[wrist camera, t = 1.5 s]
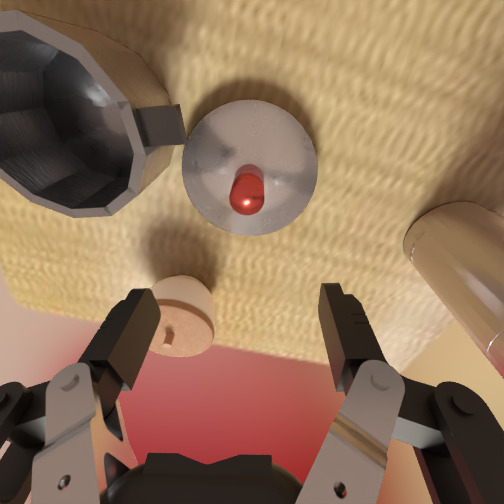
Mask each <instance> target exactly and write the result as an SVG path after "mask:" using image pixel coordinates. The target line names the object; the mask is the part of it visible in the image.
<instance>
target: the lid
mask: <svg viewBox="0 0 504 504" xmlns="http://www.w3.org/2000/svg"><path fill="white" fill-rule="evenodd" d="M317 169H318V165H317V157H316V153H315V149H314V146H313V144H312V141H311V139H310V137H309V135H308V134H307V132H306V130H305V129H304V128H303V126H302V125H301V124H300V123H299V121H298V120H297V119H295V118H294V117H293V116H292V115H291V114H290V113H288V112H287V111H285V110H284V109H283V108H281V107H278V106H276V105H274V104H272V103H268V102H265V101H260V100H238V101H233V102H230V103H227V104H224V105H222V106H220V107H218V108H216V109H214V110H213V111H211V112H210V113H209V114H207V115H206V116H205V117H204V118H203V119H202V120H201V121H200V122H199V123H198V124H197V125H196V126H195V128H194V129H193V130H192V132H191V134H190V136H189V138H188V140H187V143H186V145H185V148H184V152H183V157H182V176H183V182H184V186H185V189H186V192H187V194H188V196H189V198H190V200H191V202H192V203H193V205H194V207H195V208H196V209H197V210H198V212H199V213H200V214H201V215H202V216H203V217H204V218H205V219H206V220H208V221H209V222H210V223H212V224H213V225H215V226H216V227H218V228H220V229H222V230H224V231H227V232H230V233H233V234H237V235H244V236H258V235H264V234H269V233H272V232H275V231H277V230H279V229H282V228H283V227H285V226H287V225H288V224H290V223H291V222H292V221H294V220H295V219H296V218H297V217H298V216H299V215H300V214H301V213H302V212H303V210H304V209H305V208H306V206H307V204H308V203H309V201H310V199H311V197H312V195H313V192H314V189H315V186H316V181H317Z"/></svg>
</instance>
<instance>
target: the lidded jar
mask: <svg viewBox="0 0 504 504" xmlns="http://www.w3.org/2000/svg"><path fill="white" fill-rule="evenodd" d="M149 289H151V290H152V292H153V295H154V297H155V299H156V301H157V303H158V306H159V308H160V311H161V318H160V322H159V325H158V327H157V330H156V332H155V334H154V337H153V339H152V342H151V344H150V347H149V350H151V351H153V352H156V353H159V354H162V355H167V356H173V357H187V356H193V355H197V354H200V353H202V352H204V351H205V350H206V349H208V348H209V347H210V345H211V344H212V342H213V338H214V328H215V321H216V308H215V303H214V299H213V297H212V295H211V293H210V292H209V290H208V289H207V288H206V287H205V286H204V285H203V283H202V282H201V281H199V280H198V279H196V278H194V277H191V276H187V275H178V276H173V277H168V278H165V279H163V280H160V281H159V282H157V283H155V284H154V285H153V286H152V287H150V288H149Z"/></svg>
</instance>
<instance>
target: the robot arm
mask: <svg viewBox="0 0 504 504" xmlns="http://www.w3.org/2000/svg"><path fill="white" fill-rule="evenodd" d="M403 248H404V253H405V255H406V257H407V258H408V259H409V260H410V262H411V263H412V264H413V266H414V267H415V268H416V269H417V271H418V272H419V273H420V274H421V276H422V277H423V278H424V280H425V281H426V282H427V283H428V285H429V286H430V287H431V288H432V290H433V291H434V292H435V294H436V295H437V296H438V297H439V299H440V300H441V301H442V302H443V304H444V305H445V306H446V307H447V309H448V310H449V311H450V312H451V314H452V315H453V316H454V317H455V319H456V320H457V321H458V322H459V324H460V325H461V326H462V327H463V329H464V330H465V331H466V332H467V334H468V335H469V336H470V337H471V339H472V340H473V341H474V342H475V344H476V345H477V346H478V348H479V349H480V350H481V351H482V352H483V354H484V355H485V356H486V357H487V359H488V360H489V361H490V362H491V364H492V365H493V366H494V367H495V369H496V370H497V371H498V372H499V374H500V375H501V376H502V377H503V379H504V216H502V215H501V214H499V213H497V212H490V211H489V210H487V209H485V208H484V207H482V206H480V205H478V204H476V203H473V202H466V201H462V202H453V203H448V204H445V205H442V206H439V207H437V208H435V209H433V210H431V211H429V212H428V213H426V214H425V215H423V216H422V217H421V218H419V219H418V220H417V221H416V222H415V223H414V224H413V225H412V227H411V228H410V229H409V231H408V233H407V235H406V237H405V239H404V244H403ZM318 313H319V320H320V324H321V328H322V333H323V337H324V341H325V345H326V350H327V354H328V358H329V362H330V367H331V371H332V375H333V379H334V384H335V388H336V391H338V392H339V391H340V392H341V391H344V392H345V395H346V398H345V400H344V402H343V405H342V406H341V409H340V411H339V413H338V415H337V417H336V419H335V420H334V422H333V424H332V426H331V428H330V430H329V432H328V434H327V436H326V439H325V440H324V443H323V445H322V447H321V449H320V451H319V454H318V455H317V458H316V460H315V462H314V464H313V466H312V468H311V470H310V473H309V475H308V477H307V479H306V481H305V483H304V485H303V484H302V483H301V482H300V481H299V480H298V479H297V478H296V477H295V476H294V475H293V474H292V473H290V472H289V471H288V470H286V469H284V468H283V467H281V466H279V465H277V464H274V463H272V457H271V455H237V456H234V457H231V458H228V459H225V460H222V461H219V462H216V463H212V464H207V465H206V464H203V463H200V462H198V461H195V460H193V459H190V458H188V457H185V456H183V455H180V454H177V453H148V455H147V458H146V462H145V463H143V464H141V465H138V463H137V460H136V458H135V455H134V453H133V451H132V450H131V448H130V445H129V442H128V438H127V434H126V430H125V425H124V421H123V417H122V413H121V408H120V404H119V400H118V399H117V398H118V395H119V393H120V391H127V390H128V391H131V390H132V387H133V385H134V383H135V380H136V378H137V375H138V373H139V371H140V368H141V366H142V363H143V361H144V359H145V356H146V354H147V351H148V349H149V347H150V344H151V342H152V339H153V337H154V334H155V332H156V330H157V327H158V325H159V322H160V318H161V311H160V308H159V306H158V303H157V301H156V299H155V297H154V295H153V292H152V290H151V289H149V288H143V289H132V290H131V291H130V292H129V294H128V296H127V297H126V299H125V300H121V301H120V302H119V303H118V304H117V305H116V306H114V307H113V308H112V309H111V311H110V312H109V314H108V316H107V317H106V320H105V321H104V322H103V323H102V325H101V326H100V329H99V330H98V331H97V333H96V334H95V336H94V337H93V339H92V340H91V342H90V344H89V345H88V347H87V348H86V350H85V351H84V353H83V354H82V356H81V358H80V359H79V361H78V362H77V363H74V364H71V365H69V366H67V367H65V368H64V369H62V370H61V371H60V372H58V373H57V374H56V375H55V376H54V377H53V379H52V380H51V381H48V382H44V383H41V384H38V385H35V386H32V387H28V388H26V387H25V386H23V385H22V384H21V383H19V382H10V383H6V384H4V385H2V386H0V449H1V447H2V445H3V444H4V443H5V441H6V440H7V441H9V442H11V444H10V446H9V447H8V449H7V450H6V452H5V453H4V455H3V457H2V458H1V460H0V504H24V503H25V501H26V499H27V497H28V495H29V493H30V491H31V504H376V501H377V498H378V494H379V491H380V487H381V484H382V480H383V477H384V473H385V470H386V465H387V451H388V447H389V443H390V440H391V438H394V439H397V440H400V441H402V442H405V443H407V444H410V445H412V446H413V448H414V451H415V454H416V457H417V460H418V463H419V465H420V468H421V471H422V474H423V477H424V480H425V482H426V485H427V488H428V490H429V494H430V496H431V499H432V502H433V504H504V431H503V430H502V428H501V426H500V425H499V423H498V422H497V420H496V418H495V417H494V415H493V414H492V412H491V411H490V409H489V407H488V406H487V404H486V403H485V402H484V401H483V399H482V398H481V397H480V396H479V395H478V394H476V393H475V392H473V391H472V390H471V389H469V388H468V387H466V386H464V385H461V384H459V383H456V382H450V381H449V382H442V383H440V384H439V385H438V386H437V387H434V386H430V385H427V384H424V383H420V382H417V381H414V380H411V379H408V378H406V377H404V376H402V375H400V374H399V373H398V372H397V371H396V370H395V369H394V368H393V367H392V366H390V365H389V364H388V362H387V361H386V359H385V357H384V355H383V353H382V351H381V348H380V346H379V344H378V341H377V339H376V337H375V334H374V332H373V330H372V328H371V325H370V324H369V321H368V318H367V316H366V315H365V311H364V309H363V307H362V305H361V303H360V302H359V301H358V300H357V299H356V298H355V297H354V296H353V295H352V294H345V295H344V293H343V291H342V288H341V286H340V284H339V283H322V284H321V289H320V297H319V305H318Z"/></svg>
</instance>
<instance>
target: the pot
mask: <svg viewBox="0 0 504 504" xmlns="http://www.w3.org/2000/svg"><path fill="white" fill-rule="evenodd" d="M186 142H187V137H186V132H185V128H184V123H183V118H182V113H181V109H180V104H175V105H171V104H170V99H169V95H168V93H167V92H166V90H165V89H164V87H163V86H162V85H161V83H160V82H159V81H158V79H157V78H156V77H155V75H154V74H153V72H152V71H151V70H150V68H149V67H148V66H147V64H146V63H145V62H144V60H143V59H142V57H141V56H140V55H139V54H137V53H136V52H134V51H132V50H130V49H128V48H127V47H125V46H123V45H121V44H119V43H118V42H116V41H114V40H112V39H110V38H109V37H107V36H105V35H103V34H101V33H100V32H98V31H95V30H91V29H88V28H84V27H80V26H76V25H73V24H69V23H65V22H62V21H58V20H54V19H50V18H47V17H43V16H39V15H35V14H32V13H28V12H24V11H21V10H17V9H15V10H7V11H0V178H1V179H2V180H4V181H5V182H6V183H7V184H9V185H10V186H11V187H12V188H14V189H15V190H16V191H18V192H19V193H20V194H21V195H23V196H24V197H25V198H27V199H28V200H29V201H30V202H33V203H36V204H38V205H41V206H44V207H46V208H49V209H52V210H54V211H57V212H60V213H62V214H65V215H68V216H70V217H73V218H82V217H102V216H113V215H114V214H115V213H116V212H117V211H119V210H120V209H121V208H122V207H124V206H125V205H126V204H127V203H129V202H130V201H131V200H133V199H134V198H135V197H136V196H138V195H139V194H140V193H141V192H142V191H143V190H144V189H145V188H146V187H147V186H148V185H149V184H150V183H151V182H152V181H153V180H154V179H155V178H157V177H158V176H159V175H160V174H161V173H162V172H163V171H164V170H165V169H166V168H167V167H168V166H169V164H170V160H171V156H172V153H173V149H174V145H182V144H185V143H186Z"/></svg>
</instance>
